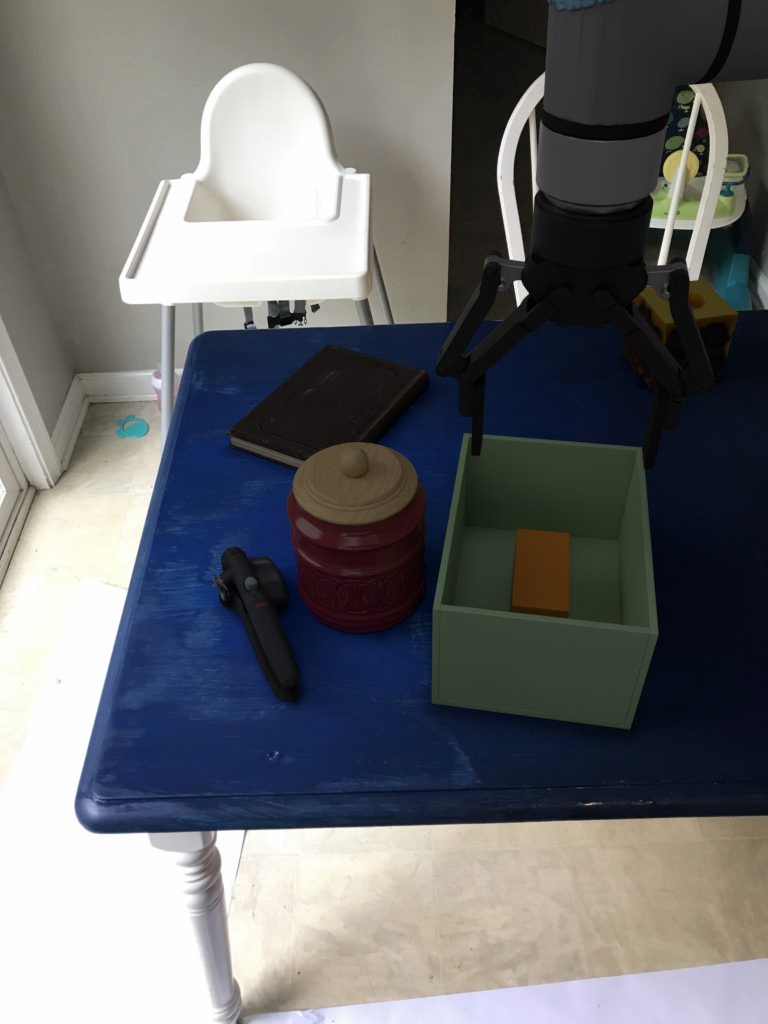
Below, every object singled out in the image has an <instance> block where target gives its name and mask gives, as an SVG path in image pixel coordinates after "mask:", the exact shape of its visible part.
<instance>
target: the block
mask: <svg viewBox="0 0 768 1024" xmlns="http://www.w3.org/2000/svg"><path fill="white" fill-rule="evenodd" d="M569 556H570V534H569V533H563V532H552V531H540V530H529V529H517V535H516V544H515V553H514V563H513V573H512V587H511V600H510V612H514V613H523V614H532V615H540V616H549V617H558V618H567V619H568V616H569Z"/></svg>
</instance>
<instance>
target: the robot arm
mask: <svg viewBox="0 0 768 1024" xmlns="http://www.w3.org/2000/svg"><path fill="white" fill-rule="evenodd" d="M547 2H548V18H547V35H546V50H545V51H546V52H545V65H544V66H545V70H544V83H543V84H544V85H543V98H542V99H543V101H542V108H541V109H542V110H541V111H542V112H541V118H540V121H539V133H538V143H537V144H538V146H537V147H538V148H537V160H536V171H535V183H536V186H537V188H539V189H538V190H537V191H536V193H535V194H534V197H533V198H534V199H533V208H532V209H533V211H532V222H531V223H532V224H531V236H530V247H529V253H528V255H527V256H526V258H525V260H524V261H523V260H517V259H509V258H504V256H503V254H502V252H500V251H499V250H496V249H495V250H491V251H488V253H486V255H485V259H484V264H483V269H482V276H481V280H480V282H479V284H478V285H477V287H476V289H475V290H474V291H473V293H472V295H471V297H470V299H469V300H468V302H467V303H466V305H465V306H464V309H463V311H462V312H461V314H460V316H458V318H457V321H456V322H455V324H454V326H453V327H452V329H451V331H450V332H449V334H448V335H447V338H446V339H445V341H444V343H443V344H442V346H441V347H440V349H439V352H438V354H437V355H438V356H437V359H436V364H435V367H434V372H435V375H436V376H438V377H439V378H447V377H450V378H452V379H454V380H456V382H457V384H458V406H457V407H458V409H457V411H458V414H459V415H460V417H466V418H467V417H468V418H471V434H472V437H471V455H472V456H480V453H481V447H482V440H483V435H484V424H485V423H484V422H485V406H486V405H485V404H486V403H485V402H486V401H485V400H486V384H487V383H486V382H487V381H486V380H487V372H488V371H489V370H490V369H491V367H493V366H494V365H496V364H497V363H498V362H499V361H500V360H501V359H502V358H503V357H504V356H506V354H507V353H509V352H510V351H511V350H512V349H513V348H514V347H515V346H517V345H518V343H520V342H521V341H522V340H523V339H524V338H525V337H527V336H528V335H529V334H532V333H535V331H537V330H538V329H539V328H540V327H541V326H542V325H544V324H545V323H546V322H547V321H550V322H552V323H554V324H555V327H562V328H563V327H564V328H568V327H573V326H574V327H575V326H581V327H584V328H588V329H601V326H605V325H607V324H609V323H611V325H612V326H613V327H614V329H615V330H616V332H617V333H618V334H619V335H620V336H621V337H622V338H624V337H625V338H626V339H627V340H628V342H629V343H630V344H631V346H632V347H633V348H634V349H635V351H636V352H637V353H638V355H639V356H640V357H641V358H642V360H643V361H644V362H645V364H646V365H647V366H648V368H649V369H650V370H651V371H652V373H653V374H654V375H655V377H656V378H657V379H658V380H656V383H655V388H654V391H653V393H652V397H651V402H650V407H649V413H648V416H647V422H646V425H645V426H646V427H645V431H644V436H643V440H642V445H641V447H642V455H643V467H644V469H645V470H654V469H655V464H656V459H657V455H658V452H659V447H660V442H661V438H662V433H663V431H673V432H674V431H675V430H676V429H677V427H679V422H680V417H681V413H682V409H683V405H684V404H686V403H687V401H688V400H689V395H690V394H692V393H695V392H696V393H697V392H700V393H701V394H710V393H712V391H714V390H715V388H716V383H715V382H716V381H714V377H713V372H712V367H711V364H710V361H709V358H708V355H707V352H706V349H705V346H704V343H703V340H702V337H701V334H700V331H699V328H698V325H697V322H696V319H695V316H694V313H693V310H692V307H691V304H690V301H689V298H688V297H689V286H690V281H691V278H690V274H689V273H690V272H689V268H688V263H687V260H686V259H685V258H684V257H681V256H676V257H673V258H672V259H670V261H669V262H668V264H657V265H647V264H646V262H645V254H646V249H647V243H648V239H649V238H648V237H649V232H650V226H651V220H652V215H653V209H654V205H655V203H654V199H653V197H652V195H651V194H652V193H653V192H654V191H656V189H657V186H658V183H659V175H660V170H661V166H662V165H661V164H662V158H663V154H664V153H663V152H664V146H665V141H666V136H667V130H668V129H667V128H668V123H669V120H670V114H671V110H672V109H671V108H672V104H673V100H674V96H675V90H676V87H677V88H678V87H679V86H694V85H695V86H696V85H706V84H717V83H730V82H745V81H758V80H768V0H547ZM517 281H521V284H522V286H523V287H524V290H526V292H527V294H526V296H524V298H523V299H522V301H521V302H520V303H519V305H517V307H516V308H515V309H514V310H512V312H511V313H510V314H509V315H508V316H507V317H505V318H504V319H503V320H502V321H501V322H500V323H499V324H498V325H497V326H496V327H494V328H493V330H492V331H490V332H489V333H488V334H487V335H486V336H485V337H484V338H483V339H481V341H479V343H477V345H475V346H474V347H473V348H472V349H471V350H470V351H469V352H468V353H466V352H465V351H466V349H467V347H468V346H469V344H471V343H470V342H471V340H473V338H474V336H475V335H476V333H477V331H478V330H479V328H480V327H481V325H482V324H483V321H484V320H485V319H486V317H487V315H488V313H489V312H490V311H491V309H492V307H493V305H494V303H495V301H496V298H497V294H498V293H501V294H502V293H504V292H506V291H508V290H509V289H510V287H511V286H512V284H513V283H514V282H517ZM651 286H652V287H654V288H655V290H656V292H657V295H658V297H660V298H662V299H664V300H668V299H669V306H670V312H671V315H672V318H673V321H674V324H675V327H676V330H677V332H678V335H679V338H680V341H681V344H682V346H683V349H684V352H685V355H686V358H687V361H688V363H689V366H690V368H688V369H682V368H681V367H680V365H679V364H678V363H677V361H676V360H675V359H674V357H673V356H672V355H671V353H670V352H669V351H668V349H667V348H666V347H665V345H664V344H663V343H662V341H661V340H660V339H659V337H658V336H657V335H656V333H655V332H654V331H653V329H652V328H651V327H650V325H649V324H648V323H647V321H646V320H645V319H644V317H643V316H642V315H641V313H640V312H639V310H638V308H637V306H636V304H635V303H634V301H633V300H634V299H635V298H636V297H637V296H638V295H639V294H640V293H641V292H642V291H643V290H644V289H645V287H651Z"/></svg>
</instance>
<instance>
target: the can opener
mask: <svg viewBox="0 0 768 1024" xmlns="http://www.w3.org/2000/svg"><path fill="white" fill-rule="evenodd" d="M220 564H221V571H222V573H220V572H218V573H217V577H216V576H215V575H213V576H212V580H213V583H214V584H212V587H213V588H214V587H215V588H216V589H217V590H218V600H219V603H220V604H221V606H222V607H223V608H225V609H226V610H227V609H228V610H229V611H232V612H234V613H236V614H237V615H238V617H239V618H240V620H241V622H242V624H243V627H244V629H245V631H246V634H247V636H248V639H249V642H250V645H251V647H252V649H253V652H254V654H255V657H256V660H257V662H258V664H259V666H260V669H261V671H262V673H263V675H264V677H265V679H266V681H267V683H268V685H269V687H270V688H271V690H272V692H273V694H274V696H275V697H276V698H277V699H278V700H279V701H282V702H284V703H289V702H293V701H295V700H296V699H297V698H298V696H299V687H298V685H299V683H300V682H301V678H302V675H301V670H300V668H299V665H298V662H297V659H296V656H295V654H294V651H293V648H292V645H291V643H290V640H289V638H288V635H287V633H286V631H285V628H284V626H283V624H282V622H281V619H280V617H279V616H278V613H277V610H279V609H280V610H281V609H282V608H284V607H286V606H288V604H289V592H288V587H287V584H286V581H285V579H284V576H283V574H282V572H281V571H280V569H279V567H278V566H277V564H276V563H275V562H274V561H273V559H271V558H270V557H269V556H267V555H265V556H263V555H262V556H247V553H246V552H245V551H244V550H243V549H242V548H241V547H238V546H230V547H228V548H227V549H225V550H224V551H223V552H222V553H221V556H220Z"/></svg>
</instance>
